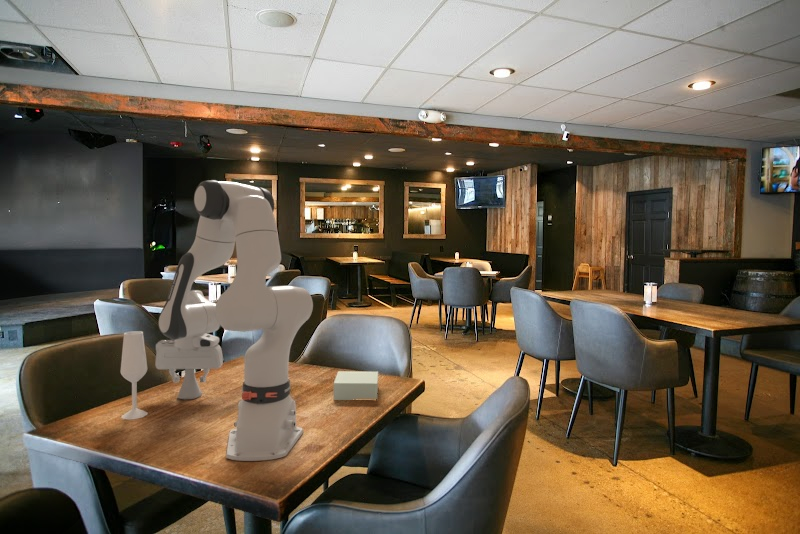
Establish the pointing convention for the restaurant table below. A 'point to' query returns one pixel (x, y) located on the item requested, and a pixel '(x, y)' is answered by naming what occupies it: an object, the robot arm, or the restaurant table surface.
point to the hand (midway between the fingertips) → (189, 382)
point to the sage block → (355, 385)
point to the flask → (189, 386)
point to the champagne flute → (133, 368)
